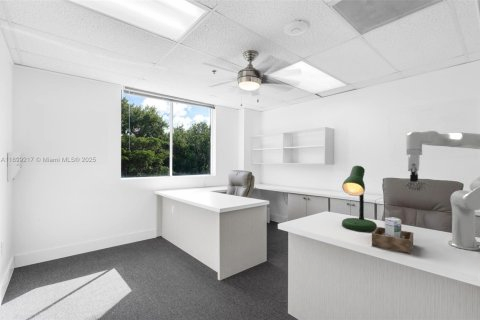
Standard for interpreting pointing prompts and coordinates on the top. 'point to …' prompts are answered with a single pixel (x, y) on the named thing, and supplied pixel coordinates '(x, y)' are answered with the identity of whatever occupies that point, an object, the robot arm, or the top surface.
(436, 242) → the top surface
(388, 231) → the syrup box
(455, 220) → the robot arm
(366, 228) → the desk lamp
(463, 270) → the top surface
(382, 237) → the walled box
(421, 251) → the top surface
